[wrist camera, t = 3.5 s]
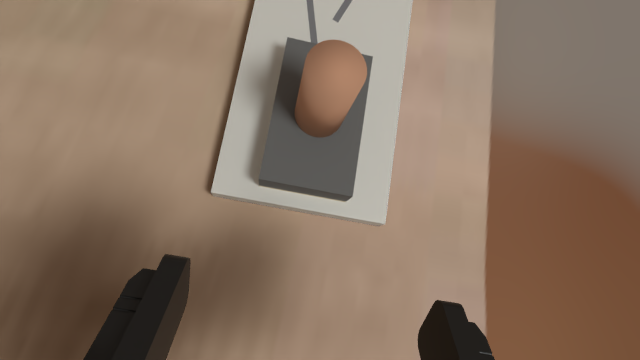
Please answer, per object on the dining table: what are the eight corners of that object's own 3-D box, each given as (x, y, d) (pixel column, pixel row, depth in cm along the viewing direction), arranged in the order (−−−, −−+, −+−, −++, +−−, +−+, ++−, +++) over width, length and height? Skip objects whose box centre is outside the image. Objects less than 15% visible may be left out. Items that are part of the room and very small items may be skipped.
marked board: (379, 226, 29) (385, 224, 27) (213, 196, 28) (210, 192, 26) (415, -65, 35) (422, -80, 33) (281, -101, 34) (282, -118, 32)
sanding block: (345, 202, 27) (381, 174, 19) (258, 186, 27) (257, 150, 18) (364, 72, 30) (404, -3, 21) (285, 54, 29) (294, -30, 21)
